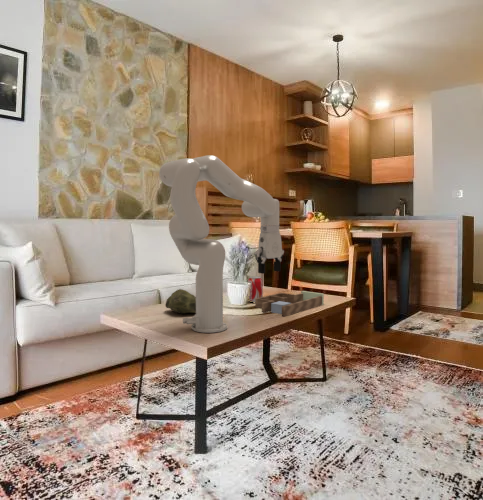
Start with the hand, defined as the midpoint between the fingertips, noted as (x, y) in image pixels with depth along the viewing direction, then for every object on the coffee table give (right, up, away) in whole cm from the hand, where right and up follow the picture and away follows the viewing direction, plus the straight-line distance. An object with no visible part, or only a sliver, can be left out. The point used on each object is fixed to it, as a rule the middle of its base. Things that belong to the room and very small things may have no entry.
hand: (269, 272), depth 160 cm
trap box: (+8, -16, +16) cm, 24 cm away
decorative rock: (-35, -18, +5) cm, 40 cm away
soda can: (-5, -16, +27) cm, 32 cm away
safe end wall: (+22, -16, +25) cm, 36 cm away
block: (+5, -17, +6) cm, 19 cm away
